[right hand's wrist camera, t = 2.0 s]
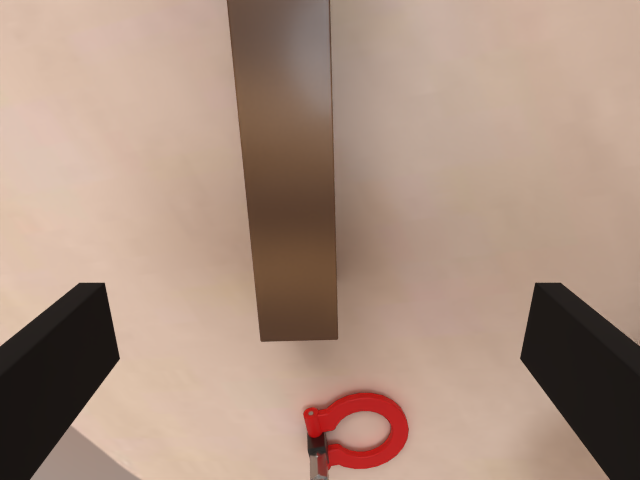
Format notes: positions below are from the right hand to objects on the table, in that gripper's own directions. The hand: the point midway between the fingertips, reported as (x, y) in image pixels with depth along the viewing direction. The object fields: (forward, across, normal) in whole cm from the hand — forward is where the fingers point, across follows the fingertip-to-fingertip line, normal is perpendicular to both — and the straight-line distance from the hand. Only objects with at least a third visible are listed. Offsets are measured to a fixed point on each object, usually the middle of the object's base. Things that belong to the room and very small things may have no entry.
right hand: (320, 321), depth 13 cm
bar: (+20, +3, -28) cm, 35 cm away
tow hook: (+19, -4, +23) cm, 30 cm away
